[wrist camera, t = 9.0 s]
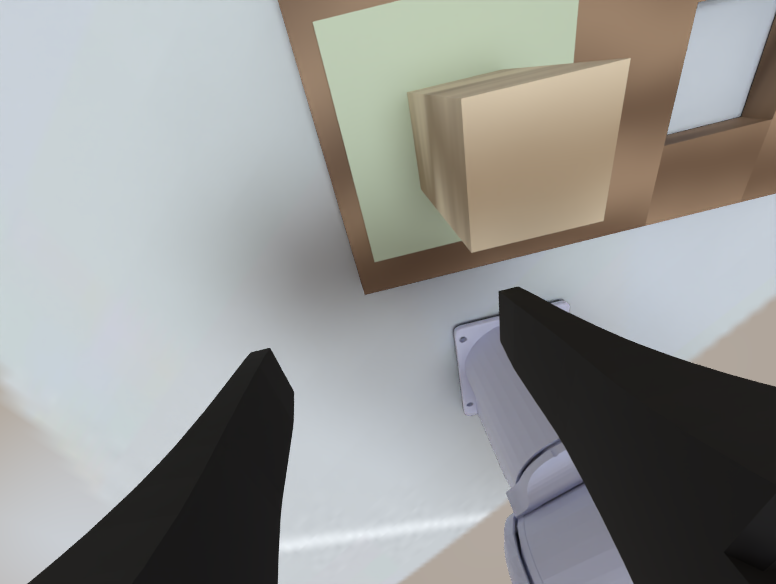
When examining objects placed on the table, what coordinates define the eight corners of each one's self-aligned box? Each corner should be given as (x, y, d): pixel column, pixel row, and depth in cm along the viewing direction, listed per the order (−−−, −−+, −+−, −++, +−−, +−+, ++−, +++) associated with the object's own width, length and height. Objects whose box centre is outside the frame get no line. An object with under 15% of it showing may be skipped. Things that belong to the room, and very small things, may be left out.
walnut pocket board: (783, 177, 20) (813, 184, 19) (363, 281, 20) (364, 294, 19) (950, -200, 12) (1020, -232, 11) (272, -32, 12) (264, -45, 11)
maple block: (503, 169, 16) (603, 221, 10) (421, 189, 16) (471, 252, 10) (502, 69, 13) (630, 57, 8) (406, 92, 13) (461, 98, 8)
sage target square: (557, 214, 18) (560, 216, 17) (374, 259, 18) (374, 262, 17) (577, -43, 12) (582, -46, 12) (313, 22, 12) (312, 21, 12)
